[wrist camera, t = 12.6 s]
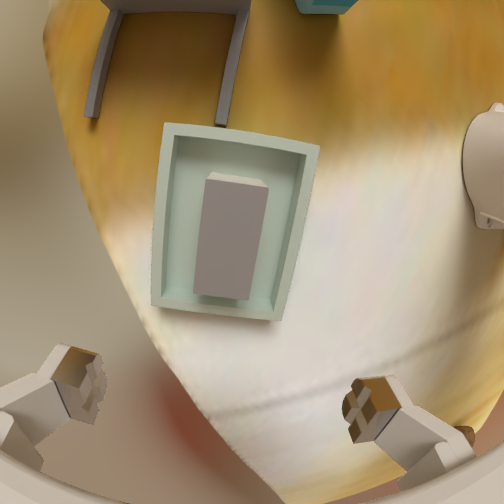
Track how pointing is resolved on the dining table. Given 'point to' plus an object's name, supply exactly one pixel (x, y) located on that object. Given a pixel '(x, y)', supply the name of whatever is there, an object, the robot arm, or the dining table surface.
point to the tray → (190, 206)
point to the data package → (324, 6)
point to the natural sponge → (467, 434)
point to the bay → (121, 3)
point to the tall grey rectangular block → (229, 235)
